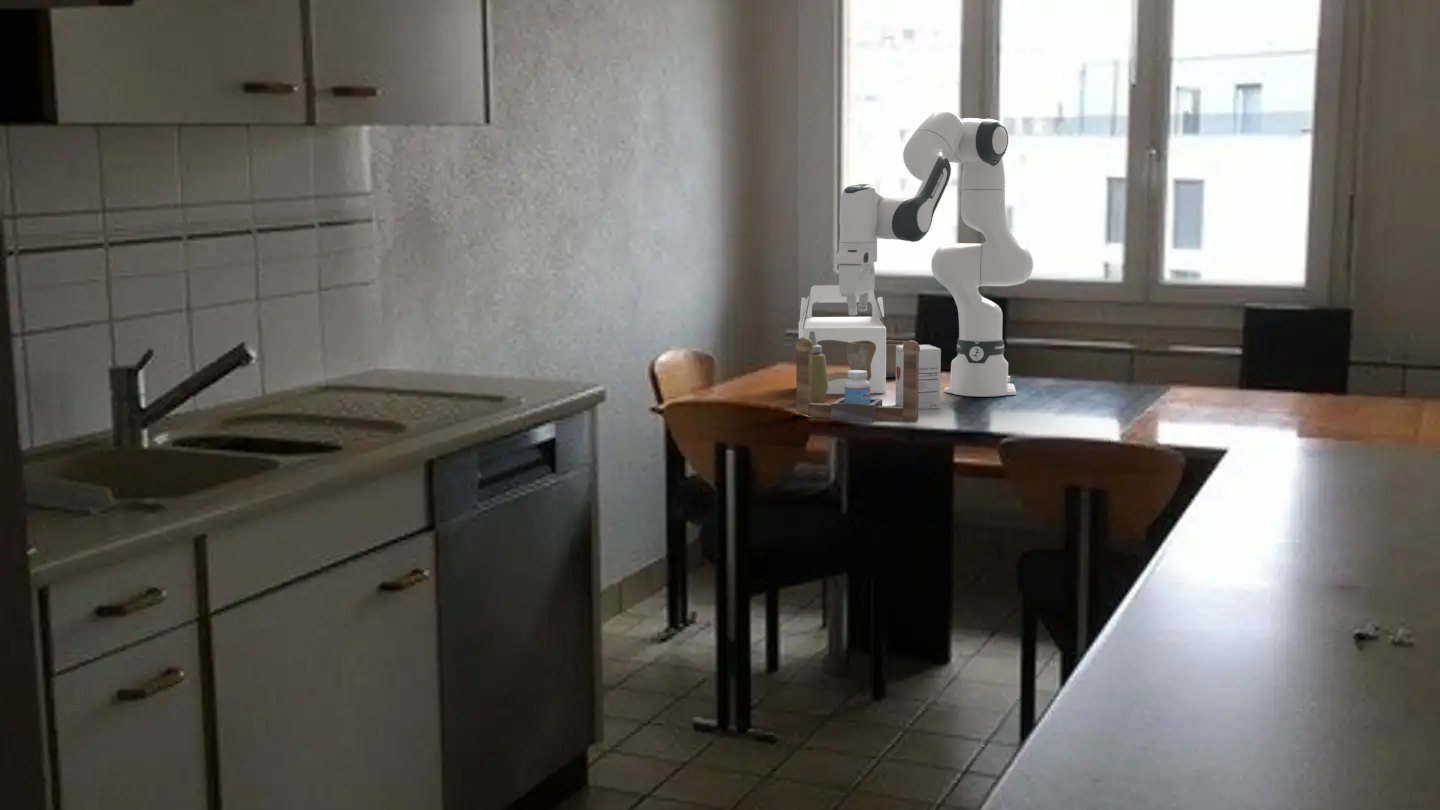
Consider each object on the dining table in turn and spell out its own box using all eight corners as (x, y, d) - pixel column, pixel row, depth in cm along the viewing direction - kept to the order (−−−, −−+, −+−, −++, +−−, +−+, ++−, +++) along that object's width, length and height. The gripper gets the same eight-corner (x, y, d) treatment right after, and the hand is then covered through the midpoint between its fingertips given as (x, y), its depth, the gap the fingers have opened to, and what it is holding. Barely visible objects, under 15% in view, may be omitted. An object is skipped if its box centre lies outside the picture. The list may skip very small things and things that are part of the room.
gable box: (880, 386, 457) (880, 282, 453) (886, 393, 444) (887, 286, 440) (797, 387, 456) (797, 283, 452) (801, 394, 443) (801, 287, 439)
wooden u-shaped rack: (801, 412, 413) (801, 334, 411) (923, 417, 404) (924, 338, 401) (790, 418, 404) (790, 339, 401) (914, 424, 395) (915, 342, 392)
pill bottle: (868, 420, 401) (869, 373, 399) (842, 419, 402) (843, 372, 400) (871, 416, 407) (871, 369, 405) (846, 415, 408) (846, 369, 406)
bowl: (877, 371, 489) (877, 336, 487) (922, 377, 475) (922, 341, 473) (833, 376, 478) (833, 341, 476) (878, 383, 464) (878, 346, 463)
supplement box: (894, 404, 425) (894, 345, 423) (928, 403, 427) (929, 344, 425) (906, 410, 416) (906, 349, 414) (940, 408, 418) (941, 348, 416)
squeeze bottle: (831, 400, 433) (832, 330, 430) (823, 404, 425) (823, 333, 422) (801, 399, 435) (801, 329, 432) (792, 403, 428) (792, 332, 425)
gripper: (855, 251, 409) (855, 308, 411) (834, 256, 390) (834, 317, 392) (881, 251, 407) (881, 309, 409) (861, 257, 388) (860, 317, 390)
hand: (857, 313), depth 400 cm, fingers open, 8 cm apart
